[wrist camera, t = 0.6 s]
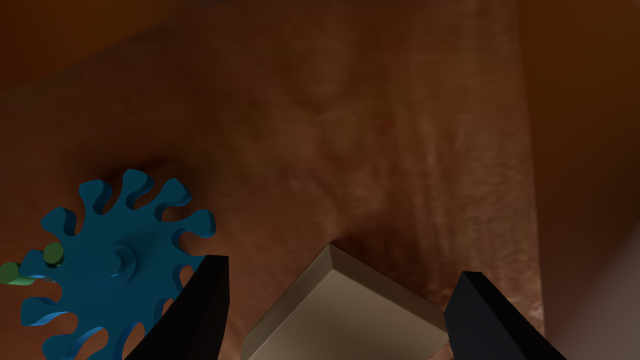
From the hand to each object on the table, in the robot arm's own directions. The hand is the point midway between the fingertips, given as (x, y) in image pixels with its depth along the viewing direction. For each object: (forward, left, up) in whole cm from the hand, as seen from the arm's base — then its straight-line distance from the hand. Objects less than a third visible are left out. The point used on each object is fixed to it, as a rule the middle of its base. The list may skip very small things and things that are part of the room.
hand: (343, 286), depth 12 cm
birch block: (-9, -9, -10) cm, 17 cm away
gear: (-10, +6, -11) cm, 16 cm away
